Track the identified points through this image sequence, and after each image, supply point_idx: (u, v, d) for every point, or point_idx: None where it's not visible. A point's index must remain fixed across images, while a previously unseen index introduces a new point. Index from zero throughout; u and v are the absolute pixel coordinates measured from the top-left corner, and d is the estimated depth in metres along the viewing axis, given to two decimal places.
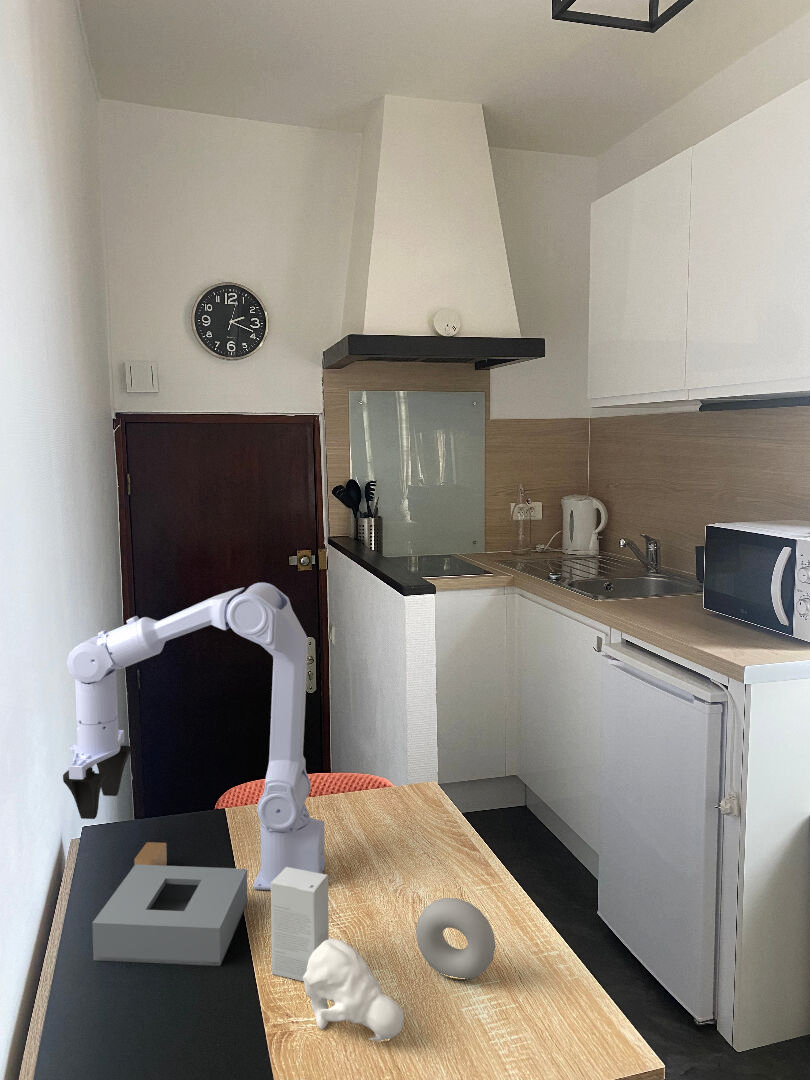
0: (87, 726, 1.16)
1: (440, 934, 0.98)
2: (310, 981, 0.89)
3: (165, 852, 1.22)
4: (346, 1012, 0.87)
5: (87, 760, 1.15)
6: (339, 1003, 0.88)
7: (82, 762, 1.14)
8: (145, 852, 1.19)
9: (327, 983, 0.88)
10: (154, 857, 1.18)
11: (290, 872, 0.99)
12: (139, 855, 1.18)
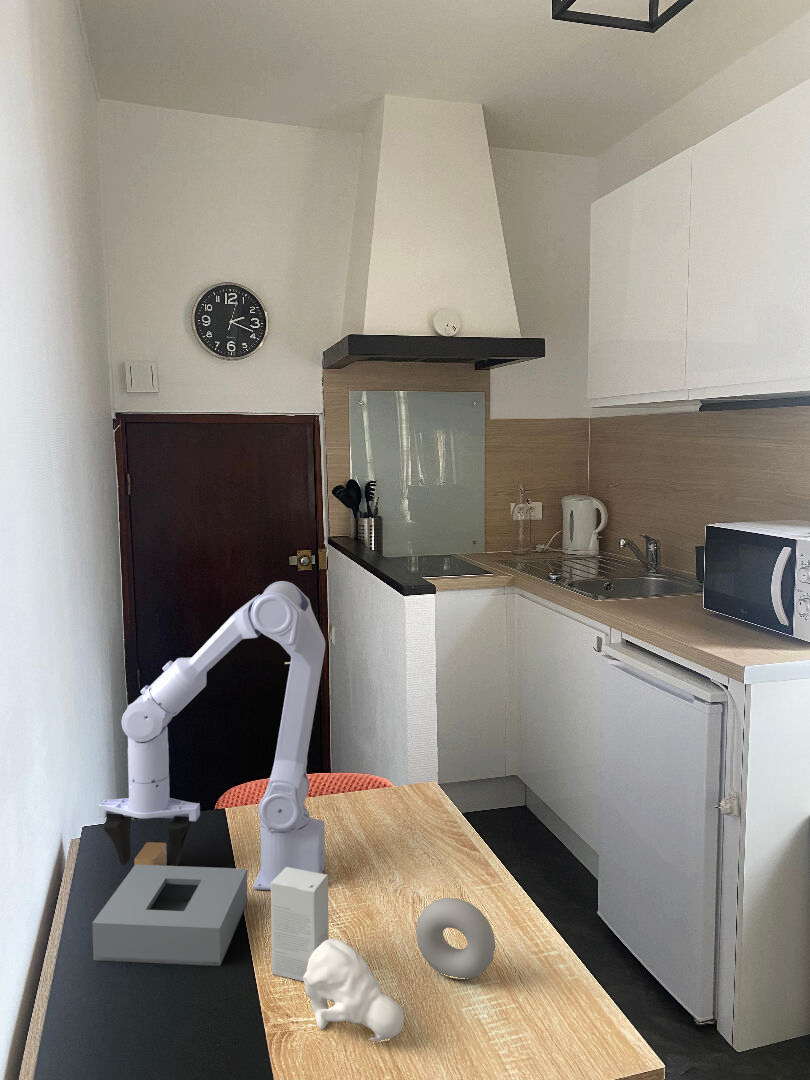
0: None
1: (440, 934, 0.98)
2: (310, 981, 0.89)
3: (165, 852, 1.22)
4: (346, 1012, 0.87)
5: (116, 805, 1.19)
6: (339, 1003, 0.88)
7: (112, 804, 1.19)
8: (145, 852, 1.19)
9: (327, 983, 0.88)
10: (154, 857, 1.18)
11: (290, 872, 0.99)
12: (139, 855, 1.18)
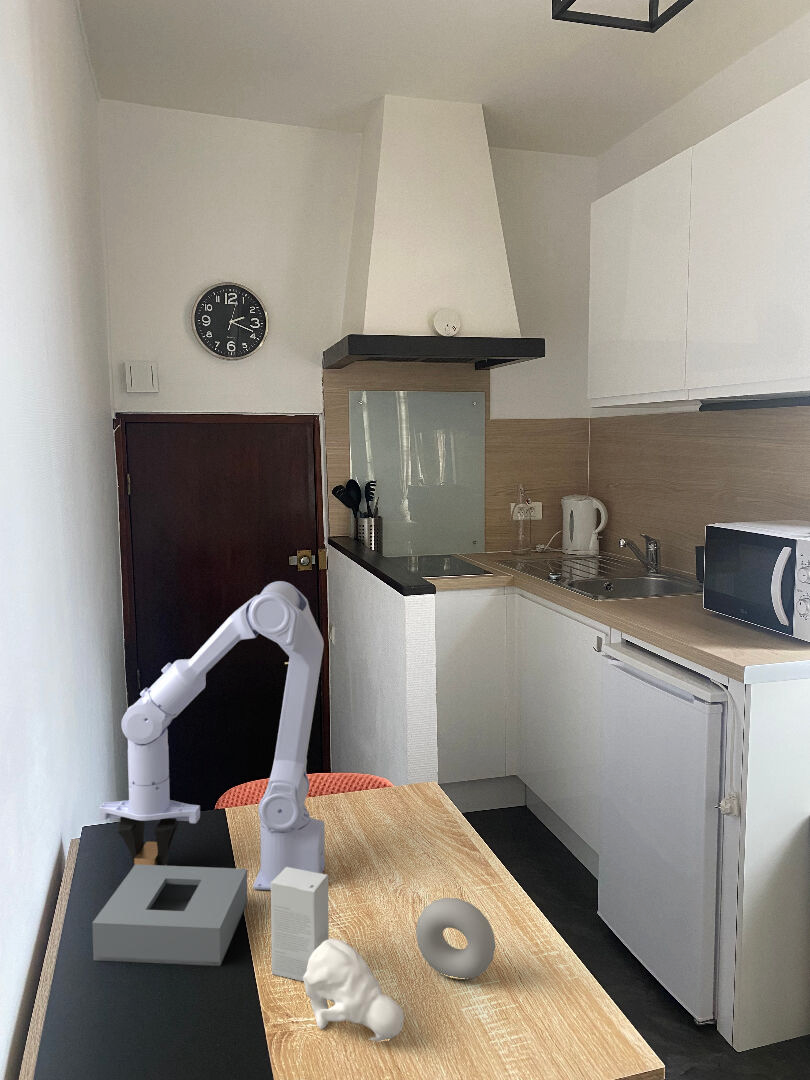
0: None
1: (440, 934, 0.98)
2: (310, 981, 0.89)
3: None
4: (346, 1012, 0.87)
5: (116, 807, 1.19)
6: (339, 1003, 0.88)
7: (112, 806, 1.19)
8: (145, 851, 1.19)
9: (327, 983, 0.88)
10: (154, 856, 1.18)
11: (290, 872, 0.99)
12: (139, 854, 1.18)
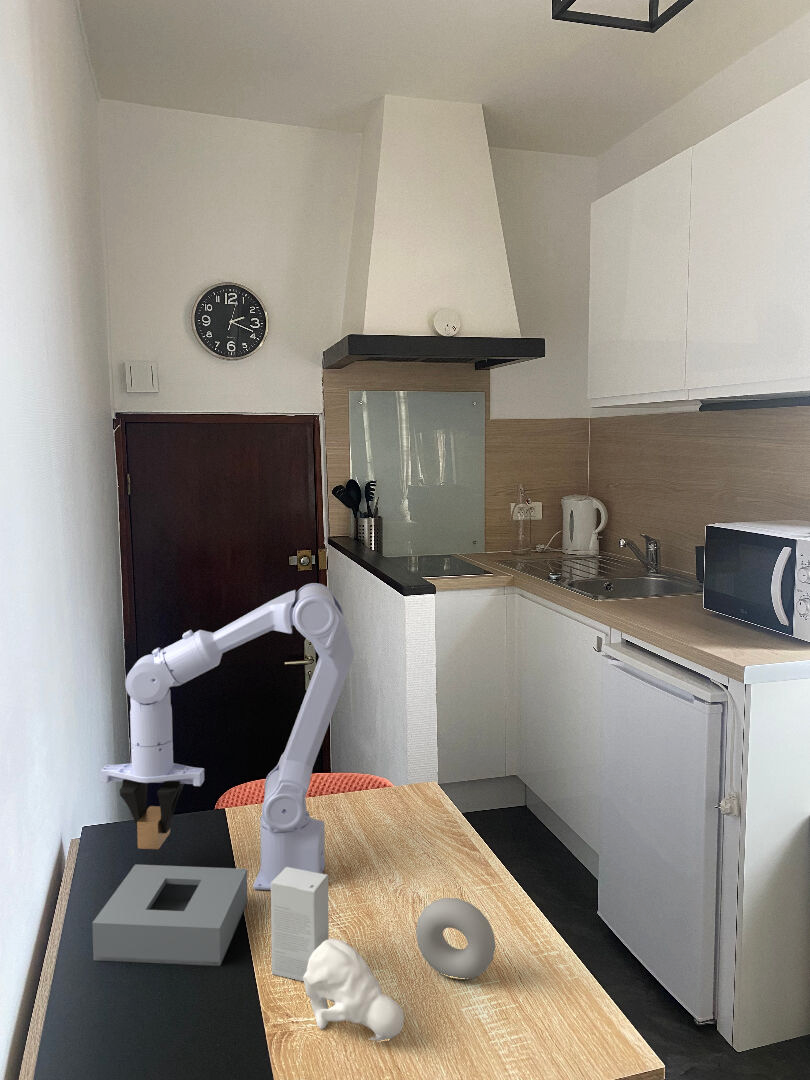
0: None
1: (440, 934, 0.98)
2: (310, 981, 0.89)
3: None
4: (346, 1012, 0.87)
5: (118, 770, 1.16)
6: (339, 1003, 0.88)
7: (114, 769, 1.16)
8: (148, 815, 1.16)
9: (327, 983, 0.88)
10: (157, 820, 1.15)
11: (290, 873, 0.99)
12: (142, 818, 1.15)
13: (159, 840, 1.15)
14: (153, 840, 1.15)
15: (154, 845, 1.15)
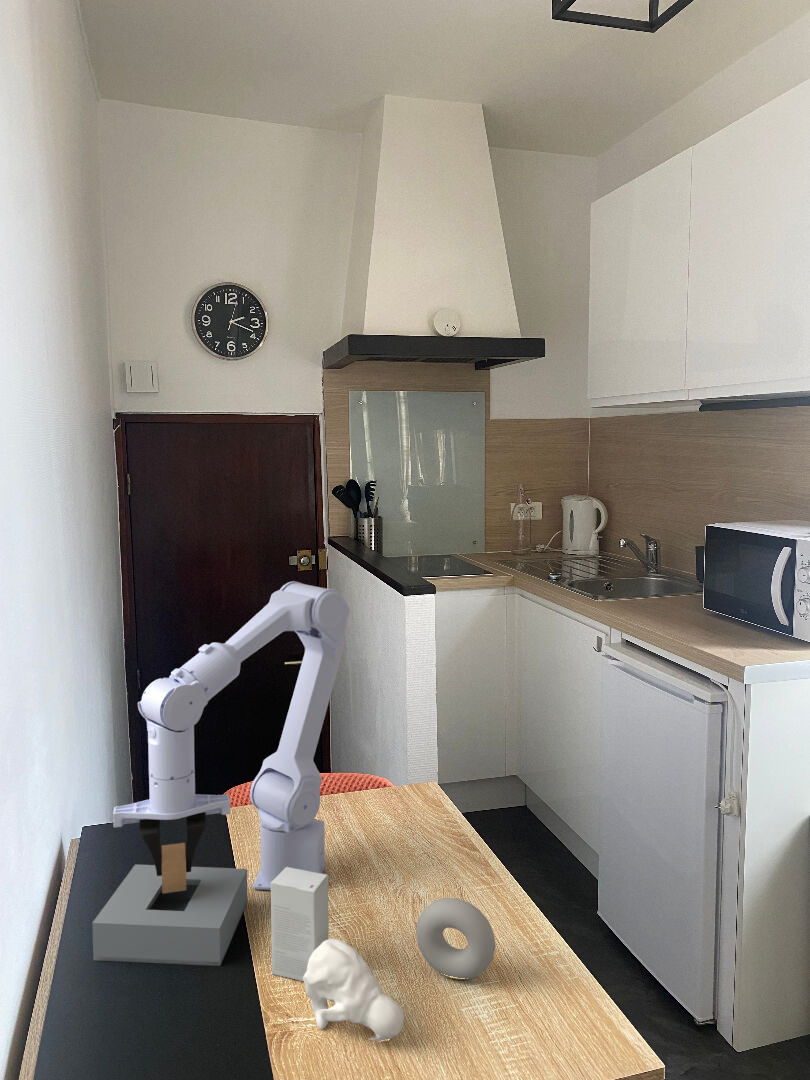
0: None
1: (440, 934, 0.98)
2: (310, 981, 0.89)
3: None
4: (346, 1012, 0.87)
5: (134, 810, 1.03)
6: (339, 1003, 0.88)
7: (128, 810, 1.03)
8: (168, 855, 1.05)
9: (327, 983, 0.88)
10: (183, 858, 1.04)
11: (290, 872, 0.99)
12: (164, 859, 1.04)
13: None
14: (180, 882, 1.04)
15: (181, 886, 1.04)
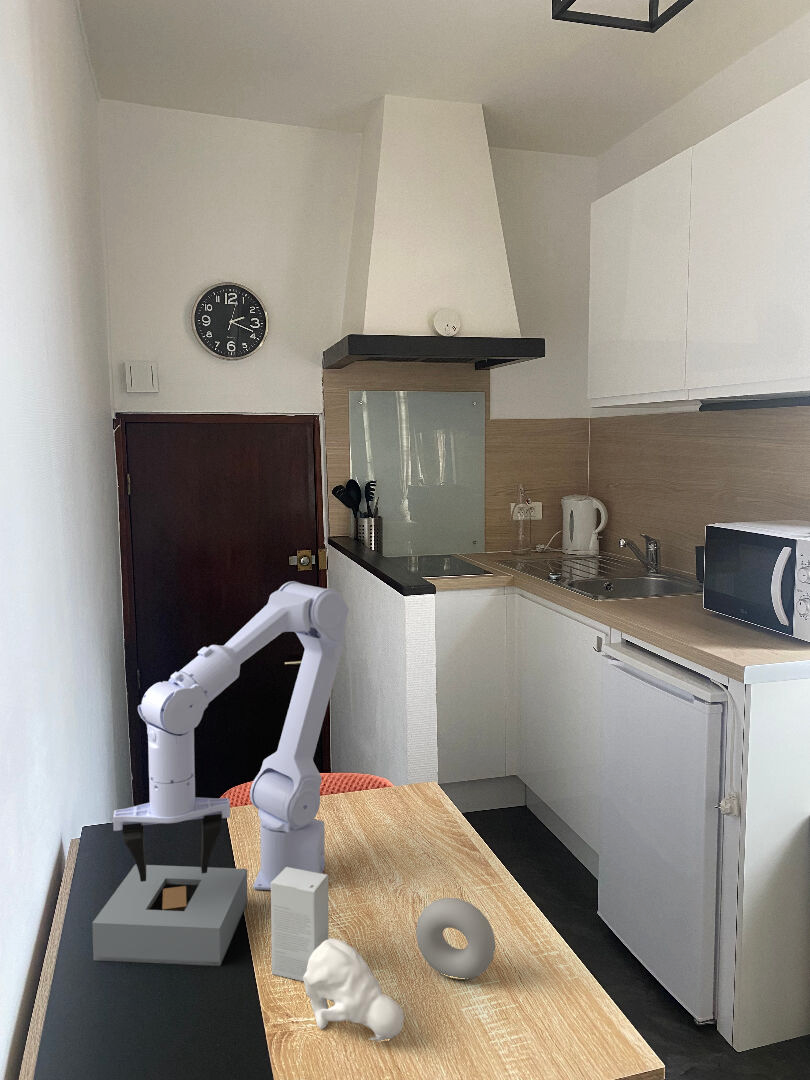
0: None
1: (440, 934, 0.98)
2: (310, 981, 0.89)
3: None
4: (346, 1012, 0.87)
5: (134, 814, 1.03)
6: (339, 1003, 0.88)
7: (128, 813, 1.03)
8: (169, 900, 1.06)
9: (327, 983, 0.88)
10: (184, 903, 1.05)
11: (290, 872, 0.99)
12: (165, 904, 1.05)
13: None
14: None
15: None
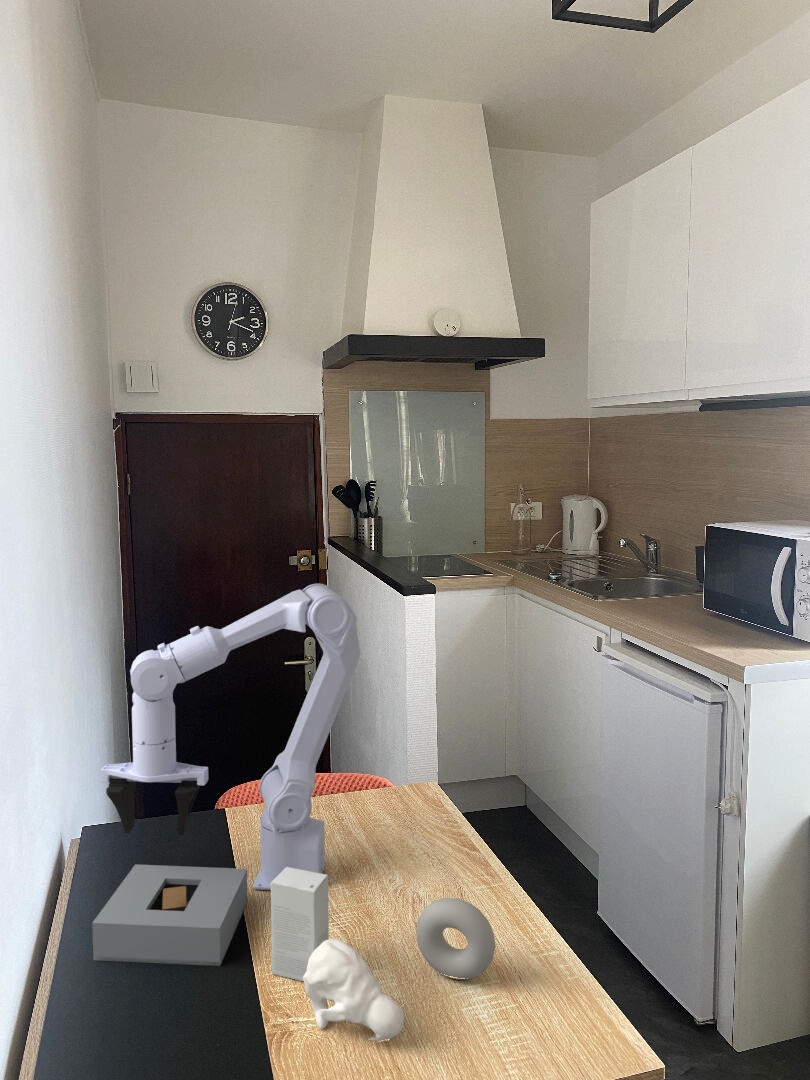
0: None
1: (440, 934, 0.98)
2: (310, 981, 0.89)
3: None
4: (346, 1012, 0.87)
5: (119, 769, 1.12)
6: (339, 1003, 0.88)
7: (115, 768, 1.12)
8: (169, 900, 1.06)
9: (327, 983, 0.88)
10: (184, 903, 1.05)
11: (291, 872, 0.99)
12: (165, 904, 1.05)
13: None
14: None
15: None
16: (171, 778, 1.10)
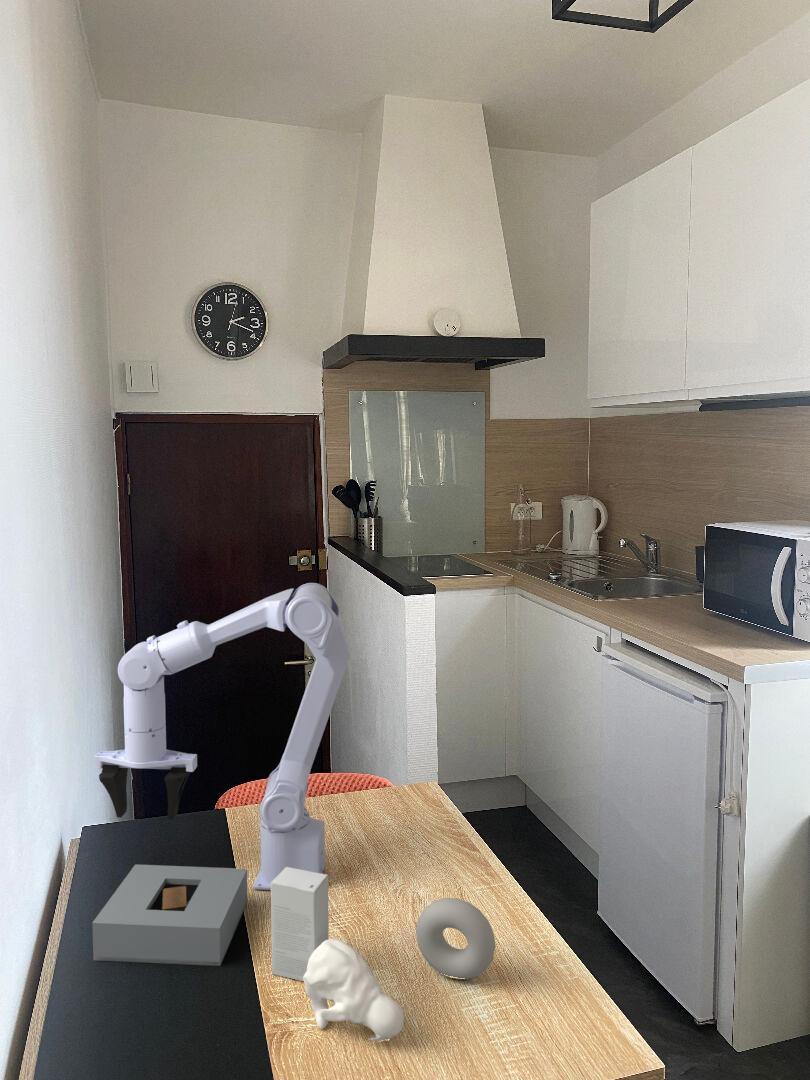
0: None
1: (440, 934, 0.98)
2: (310, 981, 0.89)
3: None
4: (346, 1012, 0.87)
5: (112, 756, 1.17)
6: (339, 1003, 0.88)
7: (108, 755, 1.17)
8: (169, 900, 1.06)
9: (327, 983, 0.88)
10: (184, 903, 1.05)
11: (290, 873, 0.99)
12: (165, 904, 1.05)
13: None
14: None
15: None
16: (161, 764, 1.15)
